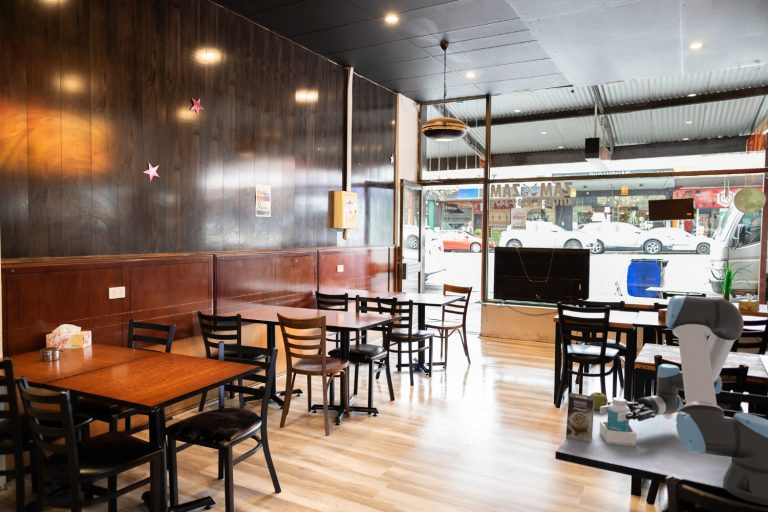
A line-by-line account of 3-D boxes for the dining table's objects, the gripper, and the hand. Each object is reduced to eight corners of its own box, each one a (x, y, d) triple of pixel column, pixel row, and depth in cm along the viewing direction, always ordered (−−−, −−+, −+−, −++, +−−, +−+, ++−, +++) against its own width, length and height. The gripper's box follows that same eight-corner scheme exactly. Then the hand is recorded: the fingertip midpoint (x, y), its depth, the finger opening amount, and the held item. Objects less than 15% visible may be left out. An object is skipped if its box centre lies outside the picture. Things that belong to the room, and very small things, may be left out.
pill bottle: (630, 439, 192) (632, 403, 191) (609, 436, 194) (611, 401, 193) (625, 431, 200) (627, 397, 199) (604, 429, 201) (606, 395, 200)
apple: (589, 411, 229) (590, 395, 228) (588, 405, 236) (589, 390, 236) (607, 413, 226) (608, 397, 226) (606, 407, 234) (607, 392, 233)
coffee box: (565, 437, 197) (567, 396, 196) (568, 432, 203) (570, 391, 202) (591, 443, 193) (593, 400, 192) (592, 437, 198) (595, 395, 198)
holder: (635, 446, 191) (636, 433, 191) (606, 443, 192) (607, 430, 192) (627, 435, 201) (627, 423, 201) (599, 433, 202) (600, 421, 202)
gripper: (673, 425, 195) (632, 433, 185) (627, 407, 213) (587, 414, 203) (674, 405, 195) (633, 413, 185) (628, 389, 213) (588, 395, 203)
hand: (609, 413), depth 194 cm, fingers closed on pill bottle, 7 cm apart
